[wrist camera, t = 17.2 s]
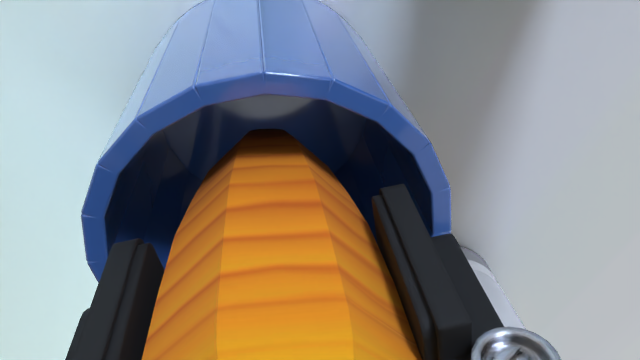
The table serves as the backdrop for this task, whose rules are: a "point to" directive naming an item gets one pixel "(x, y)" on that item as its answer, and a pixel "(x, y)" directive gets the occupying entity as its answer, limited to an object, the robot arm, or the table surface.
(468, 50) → the table surface
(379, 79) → the cup
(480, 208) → the table surface
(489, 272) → the travel mug
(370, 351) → the carrot
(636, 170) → the table surface
